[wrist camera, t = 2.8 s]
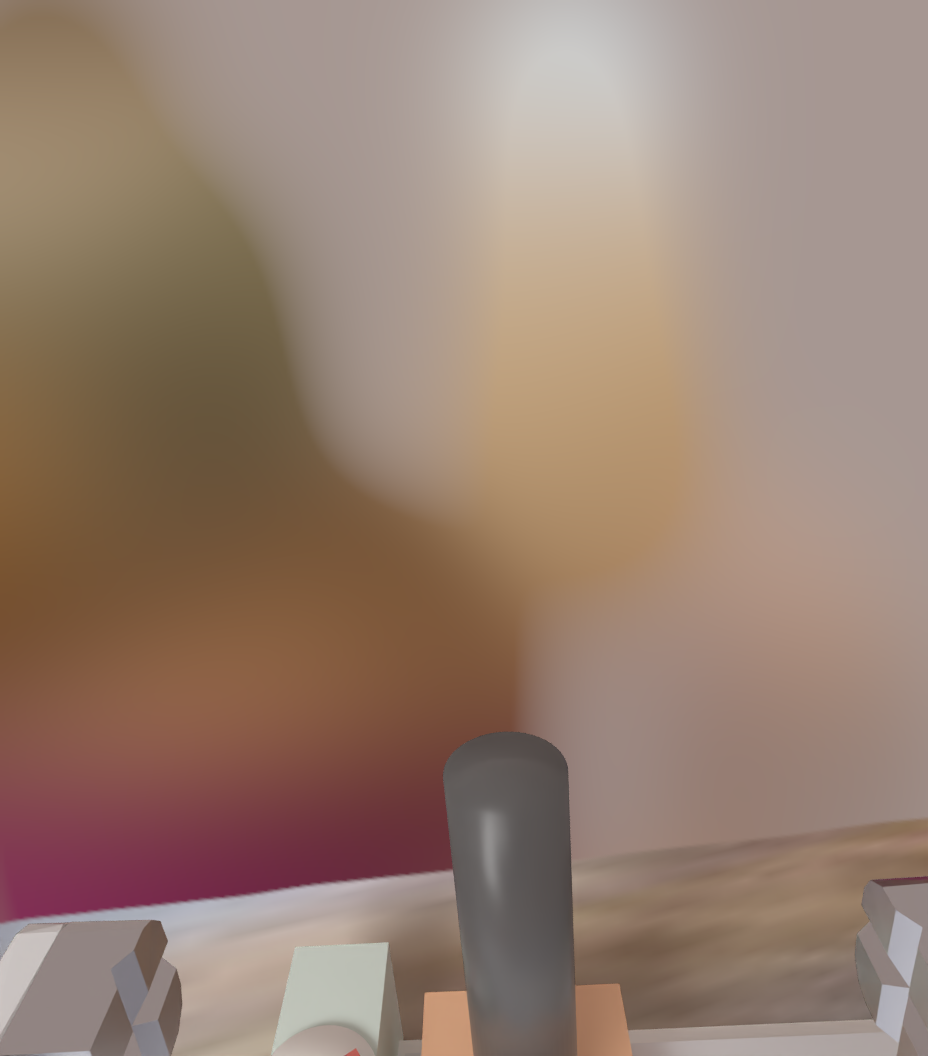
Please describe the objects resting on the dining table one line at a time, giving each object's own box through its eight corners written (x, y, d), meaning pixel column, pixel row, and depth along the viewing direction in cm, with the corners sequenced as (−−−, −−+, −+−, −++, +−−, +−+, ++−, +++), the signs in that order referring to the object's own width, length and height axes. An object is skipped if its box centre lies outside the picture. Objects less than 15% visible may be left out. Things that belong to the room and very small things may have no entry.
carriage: (416, 1290, 27) (346, 906, 20) (429, 1025, 35) (382, 688, 28) (666, 1282, 26) (681, 889, 20) (619, 1016, 35) (618, 674, 28)
